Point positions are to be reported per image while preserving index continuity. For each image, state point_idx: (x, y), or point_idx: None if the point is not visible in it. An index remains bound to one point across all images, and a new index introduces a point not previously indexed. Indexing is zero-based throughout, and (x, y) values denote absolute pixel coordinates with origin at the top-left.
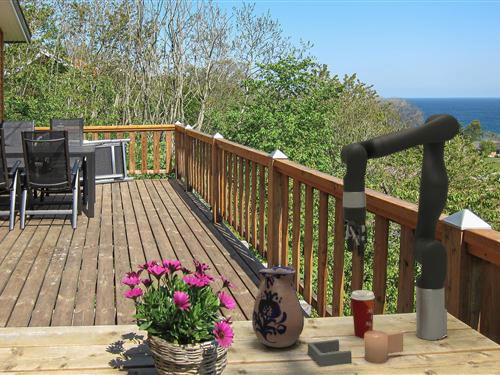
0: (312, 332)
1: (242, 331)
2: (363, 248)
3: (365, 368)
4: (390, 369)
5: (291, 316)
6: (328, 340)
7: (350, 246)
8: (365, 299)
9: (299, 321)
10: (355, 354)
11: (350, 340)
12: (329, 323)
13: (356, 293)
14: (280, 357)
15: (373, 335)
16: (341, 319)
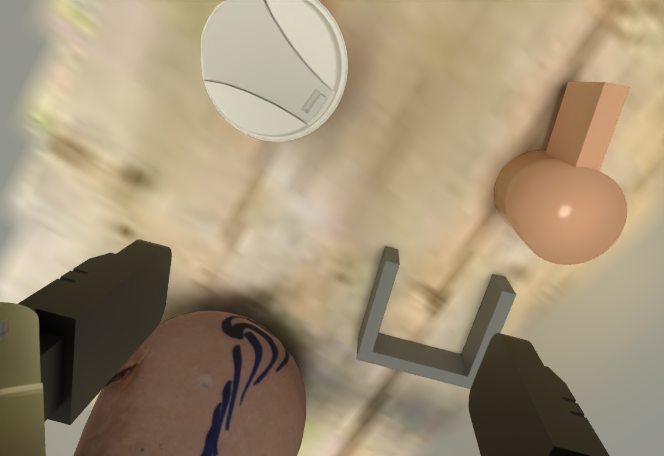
0: (188, 218)
1: None
2: (599, 446)
3: (570, 269)
4: (634, 209)
5: (290, 445)
6: (376, 293)
7: (132, 320)
8: (340, 98)
9: (290, 392)
10: (454, 222)
11: (331, 151)
12: (122, 102)
13: (259, 109)
14: (340, 412)
15: (577, 236)
16: (94, 24)
